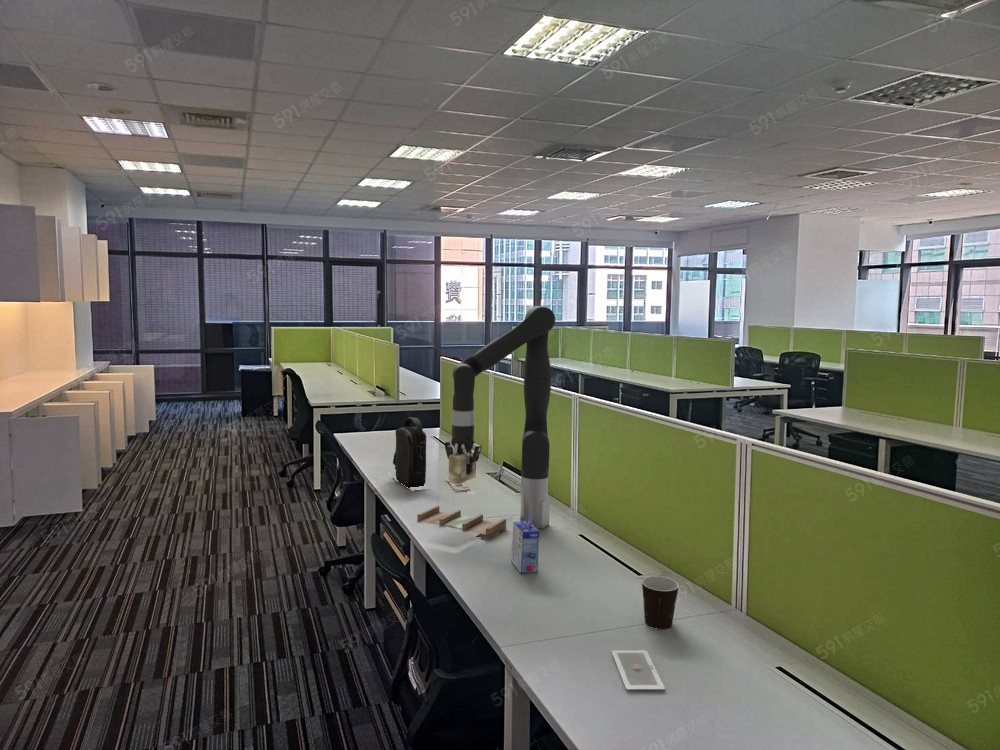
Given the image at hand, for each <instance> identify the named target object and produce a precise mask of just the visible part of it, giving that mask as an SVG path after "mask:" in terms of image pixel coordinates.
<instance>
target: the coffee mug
mask: <svg viewBox="0 0 1000 750" xmlns="http://www.w3.org/2000/svg"><path fill="white" fill-rule="evenodd" d="M641 586H642V587H641V588H642V599H643V600H642V601H643V603H642V604H643V613H644V623H645V624H647V625H646V626H647V627H649V626H650V628H651V627H653V628H652V629H654V628H657V629H656V630H668V629H670V628H672V626H673V622H674V621H673V620H674V614H675V609H676V603H677V598H678V591H679V583H678V582H677V581H676V580H674V579H672V578H669V577H666V576H660V575H656V576H655V575H652V576H647V577H644V578H643V579H642V580H641ZM667 628H668V629H667Z"/></svg>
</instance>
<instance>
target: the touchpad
mask: <svg viewBox="0 0 1000 750" xmlns="http://www.w3.org/2000/svg"><path fill="white" fill-rule="evenodd" d="M611 653H612V656H613V658H614V661H615V664H616V666H617V669H618V671H619V674H620V677H621V680H622V682H623V685H624V686H625V690H666V687H665V686H664V683H663V681H662V679H661V678H660V675H659V673H658V671H657V669H656V667H655V665H654V663H653V661H652V659H651V657H650V655H649V653H648V650H619V649H618V650H614V649H613V650H611Z"/></svg>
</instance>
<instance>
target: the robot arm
mask: <svg viewBox="0 0 1000 750" xmlns="http://www.w3.org/2000/svg"><path fill="white" fill-rule="evenodd" d="M555 323H556V316H555V313H554V312H553V310H552V309H551V308H549V307H547V306H544V305H536V306H535V305H534V306H533V307H531V308H529V309H528V310H527V312H526V314H525V315H524V320H523V321H522V322H520V323H519V324H518V325H516V326H515V327H514V328H513V329H511V330H509V331H508V332H506V333H505V334H502V335H501V336H498V337H497V338H495V339H493V340H492V341H491V342H488V344H486V345H485V346H483V347H481V349H479V350H477V352H476V353H474V354H473V355H470V356H469V357H467V358H466V359H464V360H462V361H461V362H459V363H457V364H456V365H455V367H454V368H453V369H452V370H453V371H452V378H453V392H454V393H453V396H452V414H451V437H452V438H451V440H448V441H444V443H443V445H444V448H445V452H446V453H445V454H446V457H447V460H449V456H450V455H453V454H457V453H463V454H464V455H465V457H466V462H467V464H466V474H467V475H469V474H471V473H472V471H473V463H474V462H476V463H477V462H478V461H479V459H480V455H481V451H482V448H483V446H482V445H481V444H476V443H475V441H474V438H475V411H474V409H475V408H474V406H475V404H474V403H475V402H474V401H475V400H474V398H475V397H474V392H475V384H476V383H475V382H476V378H475V377H477V376H479V375H480V374H482V373H483V372H485V371H488V370H489V369H491V368H493V367H494V366H495V365H497V364H498V363H500V362H501V361H503V360H504V359H505V358H507V356H509V355H510V354H512V353H513V352H515V351H516V350H518V349H520V347H522V346H523V345H525V344H526V345H525V346H526V350H525V358H524V373H523V374H524V375H523V398H524V399H523V400H524V407H525V409H524V410H525V420H524V421H525V422H524V429H523V435H522V441H521V476H520V477H521V480H520V516H519V520H520V521H519V522H521V521H526V520H527V519H528V517H529V516H530V517H531V518H532V519H533V522H532V525H533V526H534V527H535V528H536V529H537V530H539V529H540V530H543V529H544V528H545V527H547V526H548V525H550V507H551V506H550V504H551V501H550V500H551V498H550V497H548V496H549V494H548V493H549V470H550V450H551V449H550V439H549V435H548V419H547V418H548V417H547V416H548V415H547V414H548V409H549V403H550V398H551V389H552V368H551V361H550V356H549V350H548V347H549V346H548V342H549V333H550V331H551V330H552V329H553V328H554V326H555ZM453 448H454V449H453ZM472 451H474V453H473V454H472ZM472 455H473V456H472ZM528 521H529V522H530V520H528Z"/></svg>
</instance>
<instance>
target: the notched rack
mask: <svg viewBox="0 0 1000 750" xmlns="http://www.w3.org/2000/svg"><path fill="white" fill-rule="evenodd" d="M416 519H417V521H419V522H422V523H423V522H424V523H427V524H428V523H429V524H433V525H436V526H437V525H438V526H442V527H448V528H451V529H456V530H461V531H466V532H471V533H476V534H478V535H475V538H478V537H481V538H480V539H483V538H486V539H485V540H488V539H489V540H490V539H492V538H493V536H494V535H495V536H497V535H498V534H497V533H499V532H500V533H502V532H503V531H502V530H504V529H505V530H507V519H506V518H502V519H501V520H499V521H496V522H494V521H488V520H484V514H482V513H480V514H477V515H476V516H474V517H468V516H463V515H462V511H461V510H460V509H457V510H455V511H453V512H451V513H449V512H444V511H443V512H442V511H440V505H435V506H433V507H431V508H429V509H426V510H424V511H423V512H421V513H418V514H417V518H416ZM505 530H504V531H505ZM501 531H502V532H501ZM500 533H499V534H500ZM496 534H497V535H496ZM495 536H494V537H495ZM491 537H492V538H491Z"/></svg>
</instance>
